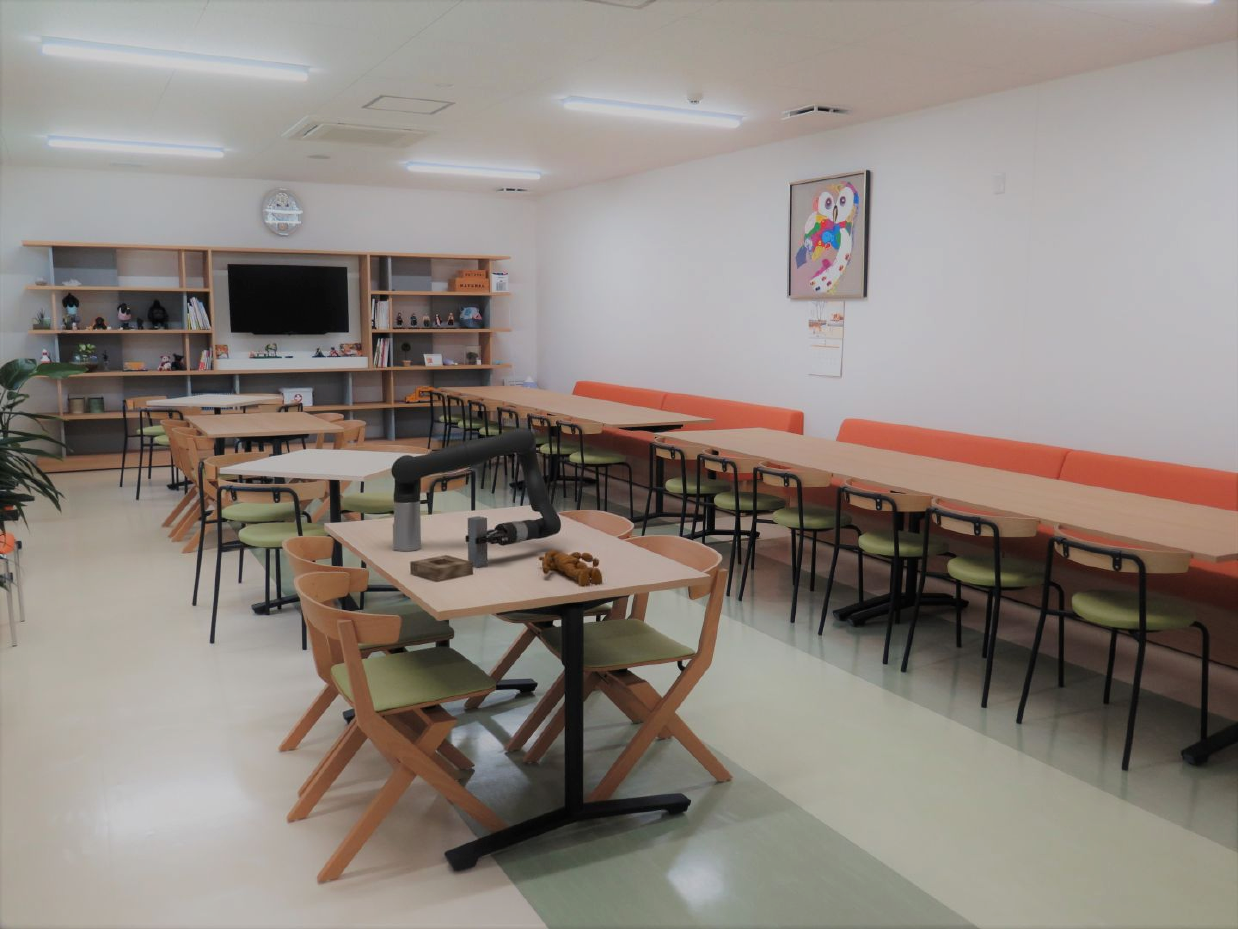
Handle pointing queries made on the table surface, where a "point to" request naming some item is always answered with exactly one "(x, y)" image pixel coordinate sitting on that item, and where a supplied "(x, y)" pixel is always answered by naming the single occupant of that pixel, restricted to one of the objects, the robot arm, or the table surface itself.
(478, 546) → the post
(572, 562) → the toy
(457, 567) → the wooden block with hole
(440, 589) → the table surface
